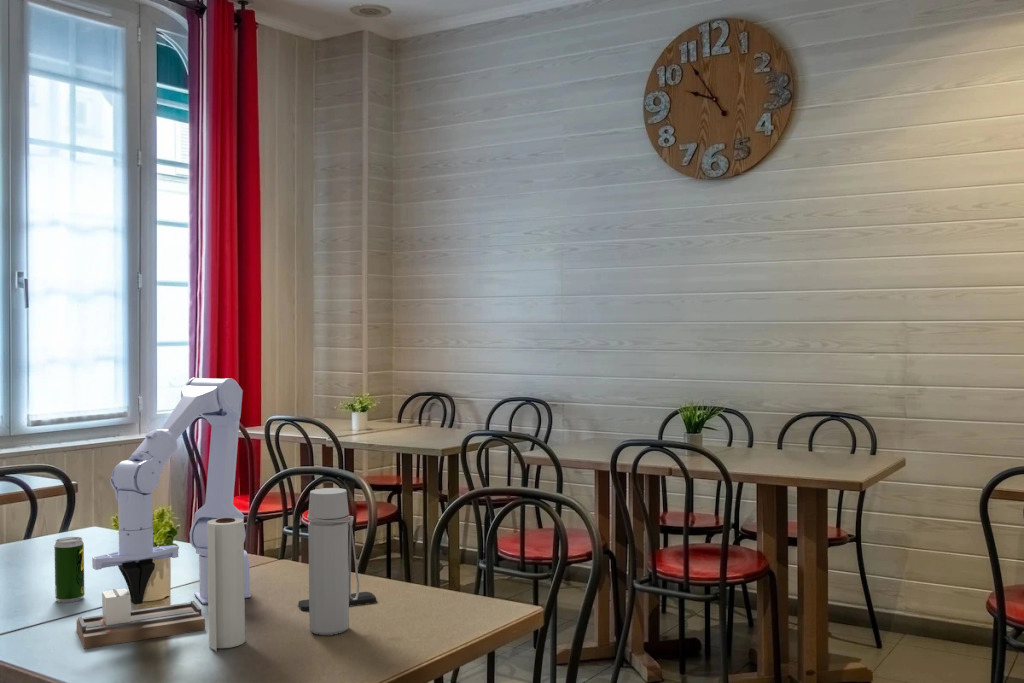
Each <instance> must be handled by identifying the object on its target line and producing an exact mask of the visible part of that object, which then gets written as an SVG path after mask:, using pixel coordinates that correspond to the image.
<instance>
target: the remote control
mask: <svg viewBox="0 0 1024 683" xmlns="http://www.w3.org/2000/svg"><path fill="white" fill-rule="evenodd" d="M356 593H357V592H354V593H351V596H352V598H355V597H356ZM374 602H376V603H377V597H376V595H375V594H374V593H372V592H370V591H361V592H360V591H359V595H358V599H357V600H352V599H351V598H350V596H349V605H354V606H358V605H357V604H362V605H367V604H366V603H370V604H375V603H374ZM297 607H298V609H299V610H300V611H301V612H309V598H308V599H301V600H298V604H297Z"/></svg>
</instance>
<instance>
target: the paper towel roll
mask: <svg viewBox="0 0 1024 683" xmlns="http://www.w3.org/2000/svg"><path fill="white" fill-rule="evenodd" d="M212 519H213V520H210V521H208V522H207V535H208V603H207V606H208V646H209V647H210V649H211V650H214V651H215V653H218V652H217V649H229V648H230V649H231V648H234V647H238V646H240V645H243V644H244V643H245V642H246V615H245V614H246V612H245V609H246V607H245V606H246V604H245V602H246V601H245V600H246V598H245V597H244V550H245V541H244V527H245V522H244V521H245V520H244V521H243V519H241V518H212Z"/></svg>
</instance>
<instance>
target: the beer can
mask: <svg viewBox="0 0 1024 683" xmlns="http://www.w3.org/2000/svg"><path fill="white" fill-rule="evenodd" d="M84 545H85V544H84V542H83V537H80V536H67V537H60V538H57V539H55V543H54V546H53V547H54V584H55V585H54V591H55V592H54V593H55V594H54V596H55V597H54V598H55V599H56V602H57V603H61V604H62V603H63V604H65V603H67V604H68V603H74V602H78V601H79V602H80V601H82V600H83V599H84V597H85V553H84V552H85V546H84Z"/></svg>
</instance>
